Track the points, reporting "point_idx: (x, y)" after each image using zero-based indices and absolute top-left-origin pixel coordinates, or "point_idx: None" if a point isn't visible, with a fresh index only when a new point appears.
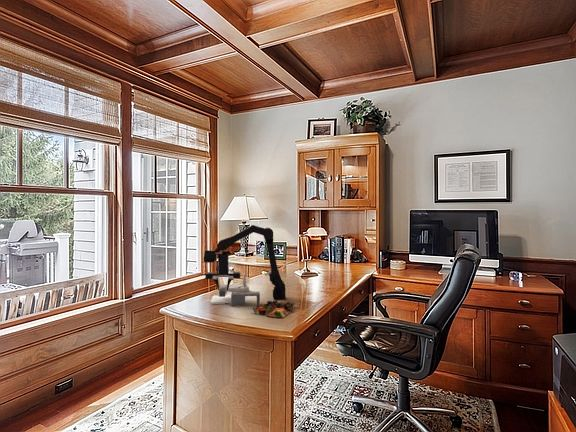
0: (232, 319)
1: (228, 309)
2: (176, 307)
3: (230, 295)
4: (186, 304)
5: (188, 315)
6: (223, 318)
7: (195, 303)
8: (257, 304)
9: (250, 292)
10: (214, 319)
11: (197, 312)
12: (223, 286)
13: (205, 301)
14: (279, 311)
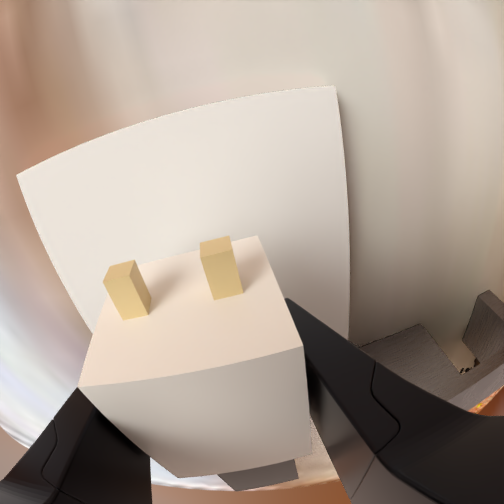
0: (333, 471)
1: (312, 432)
2: (22, 427)
3: (277, 113)
4: (12, 394)
5: (156, 484)
6: (302, 476)
7: (35, 380)
8: (468, 343)
9: (491, 378)
10: (272, 485)
11: (168, 471)
12: (252, 466)
13: (56, 335)
14: (475, 412)
